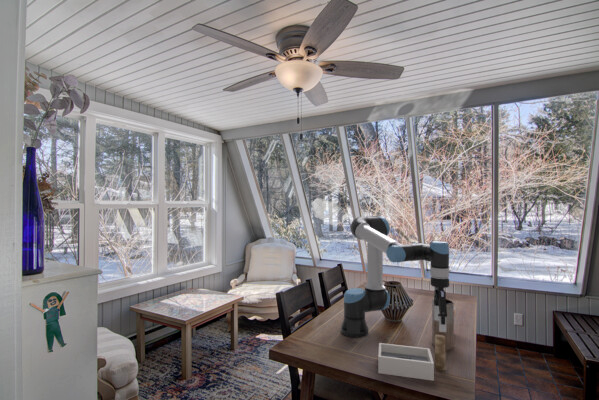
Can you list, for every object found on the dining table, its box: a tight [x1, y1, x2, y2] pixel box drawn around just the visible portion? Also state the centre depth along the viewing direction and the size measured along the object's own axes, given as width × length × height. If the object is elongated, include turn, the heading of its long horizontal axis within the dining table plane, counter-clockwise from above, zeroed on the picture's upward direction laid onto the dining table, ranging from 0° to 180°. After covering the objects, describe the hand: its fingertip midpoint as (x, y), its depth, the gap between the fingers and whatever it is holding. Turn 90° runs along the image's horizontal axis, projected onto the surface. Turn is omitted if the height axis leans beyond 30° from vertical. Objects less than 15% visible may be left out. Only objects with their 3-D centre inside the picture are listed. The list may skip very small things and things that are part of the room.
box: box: [377, 342, 435, 382], centre depth 140 cm, size 22×14×7 cm, turn 75°
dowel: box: [434, 335, 446, 372], centre depth 140 cm, size 4×4×14 cm
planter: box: [431, 298, 455, 351], centre depth 163 cm, size 10×10×23 cm
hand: (440, 325), depth 140 cm, fingers open, 13 cm apart
